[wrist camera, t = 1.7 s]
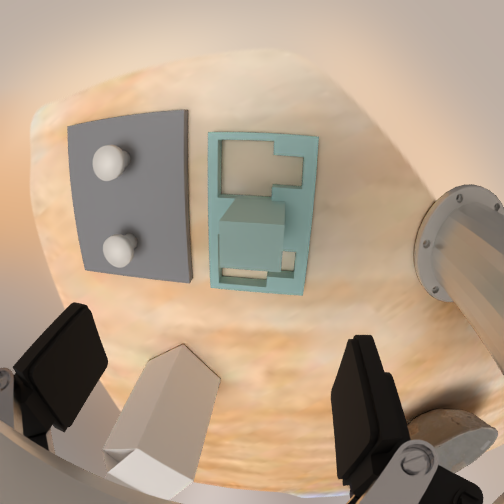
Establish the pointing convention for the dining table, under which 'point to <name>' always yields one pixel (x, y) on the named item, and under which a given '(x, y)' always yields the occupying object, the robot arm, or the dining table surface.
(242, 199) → the teal frame with block
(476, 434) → the ceramic bowl
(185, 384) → the milk carton
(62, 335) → the robot arm
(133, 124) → the board
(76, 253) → the dining table surface
